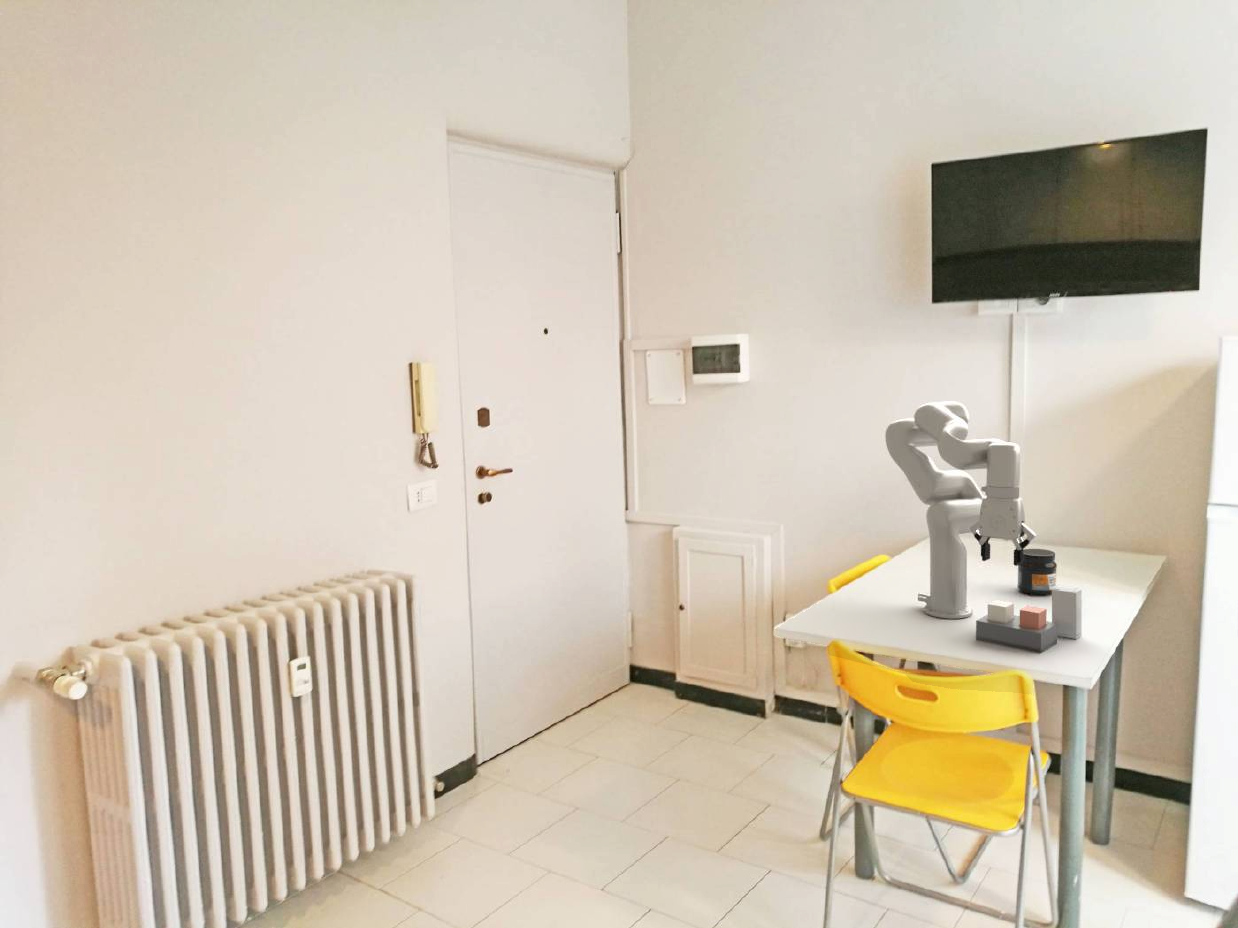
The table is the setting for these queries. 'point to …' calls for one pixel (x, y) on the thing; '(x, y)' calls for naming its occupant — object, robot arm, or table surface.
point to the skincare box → (1067, 611)
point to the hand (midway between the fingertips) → (1001, 561)
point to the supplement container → (1037, 572)
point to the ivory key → (1001, 611)
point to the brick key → (1033, 617)
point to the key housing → (1017, 634)
